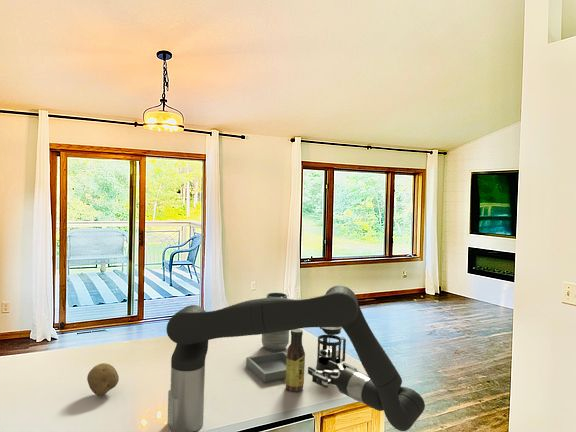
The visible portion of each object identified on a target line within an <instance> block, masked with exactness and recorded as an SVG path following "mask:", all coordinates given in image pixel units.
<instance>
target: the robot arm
mask: <svg viewBox="0 0 576 432" xmlns="http://www.w3.org/2000/svg"><path fill="white" fill-rule="evenodd" d="M361 309H362V308H361V307H360V304H359V302H358V298H357V295H356V294H355V292H354V291H353V290H352V289H350V288H349V287H347V286H345V285H340V284H339V285H334V286H332V287H330V288H329V289H327V291H326V292H325V294H324V295H320V296H314V297H310V298H303V299H293V298H288V299H286V298H266V297H263V298H255V299H248V300H245V301H241V302H238V303H235V304H232V305H228V306H226V307H223V308H221V309H217V310H211V311H206V310H205V309H204V308H203V307H201V306H199V305H196V304H190V305H187V306H185V307H184V308H181V309H180V310H178V312H175V314H173V315H172V316H171V318H170V319H169V320H168V322H167V325H166V334H167V337H168V338H169V339H170V340H171V341H172V343H175V348H174V350H173V353H172V355H171V358H170V389H169V390H167V391H168V392H167V393H168V394H167V395H168V396H167V425H168V427H169V429H170V431H171V432H197V431H199V430H200V429H201V428H202V427H203V425H204V416H205V415H204V409H205V408H204V407H205V406H204V404H205V376H206V375H205V374H206V373H205V371H206V358H207V354H208V349H209V341H210V340H213V339H214V340H215V339H221V338H222V339H223V338H237V337H246V336H258V335H262V334H268V333H274V332H281V331H289V332H290V331H291V330H295V329H300V330H301V329H308V328H320V327H342V329H343V330H344V332H345V334H346V335H347V337H348V338H349V340H350V342H351V344H352V346H353V348H354V350H355V353H356V354H357V357H358V359H359V360H360V361H359V362H361V365H362V367H363V369H364V371H365V373H363V372H361V371H359V370H358V368H357V367H355V366H352V365H350V364H348V363H346V362H343V363H338V364H337V363H335V362H332V361H328V368H330V369H332V371H330V370H324V371H318V370H317V369H316V367H312V366H308V367H307V374H308V376H309V375H310V376H312V379H311V381H312V383H314V384H316V385H319V386H320V387H323V388H325V389H327V388H329V385H333V386H336V387H337V390H338V391H339V392H340V393H341V394H343V395H344V396H345V395H346V396H347V397H349V398H351V399H353V400H354V401H357V402H359V403H362V404H364V405H366V406H368V407H369V408H371V409H374V410H376V411H379V412H382V411H383V413H384V415H385V417H386V419H387V421H388V423H389V424H390V425H391V426H392V427H393V428H394V429H395V430H397V431H399V432H406V431H409V430H410V429H411V428H412V426H413V425H414V424H415V423H416V422H417V420H418V419H419V418H420V417H421V415H422V414H423V413H424V410H425V408H426V404H425V401H424V399H423V397H422V396H421V394H420V393H418V392H417V391H416V390H415V389H412V388H410V387H405V386H402V384H403V378H402V377H401V375H400V373H399V372H398V370H397V369H396V366H395V365H394V363H393V362H392V361H391V359H390V357H389V356H388V354H387V353H386V351H385V350H384V348H383V347H382V345H381V343H380V342H379V341H378V339H377V337H376V335H375V334H374V333H373V331H372V329H371V328H370V326H369V324H368V322H367V320H366V318H365V316H364V313H363V311H362V310H361ZM326 373H328V374H326ZM326 375H327V376H326Z"/></svg>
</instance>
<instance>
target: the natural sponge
mask: <svg viewBox="0 0 576 432" xmlns="http://www.w3.org/2000/svg"><path fill="white" fill-rule="evenodd" d="M86 379H87V380H86V381H87V384H88V386H89V388H90V390H91V392H92V393H93V394H94V395H96V396H97V397H103V396H105V395H106V394H107V393H108V392H110V391H111V390H112V389H114V388H115V387H117V386H118V383H119V380H120V379H119V374H118V372H117V370H116V368H115V367H114V366H113V365H111V364H110V363H99V364H97V365H95V366H93V367H92V369H90V370H89V371H88V374H87V376H86Z"/></svg>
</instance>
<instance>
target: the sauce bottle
mask: <svg viewBox="0 0 576 432" xmlns="http://www.w3.org/2000/svg"><path fill="white" fill-rule="evenodd" d="M290 335H291V336H290V344H289V346H287V347H288V348H287V351H286V353H287V360H286V380H285V389H286V390H287V391H289V392H301V391H302V390H303V389H304V384H305V367H306V365H305V362H306V358H305V357H306V352H305V349H304V346H303V330H302V329H301V328H300V329H295V330H290Z"/></svg>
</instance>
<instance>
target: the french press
mask: <svg viewBox="0 0 576 432" xmlns="http://www.w3.org/2000/svg"><path fill="white" fill-rule="evenodd" d="M319 329H320V330H322V332H323V333H324V334H321V335H319V336H317V353H316V354H317V355H316V357H317V358H316V366H315V369H317V370H318V371H324V370H330V371H332V369H330V368H328V361H332V362H335V363H337V364H338V363H340V364H342V362H343V363H344V362H345V360H346V346H347V345H346V343H347V339H346V338H345V337H343V336H342V337H340V336H338V335H340V334H341V332H342V329H343V328H342V327H319ZM321 339H322V340H321ZM328 339H329V340H328ZM331 339H334V340H338V341H334V342H331ZM321 345H322V349H321ZM337 346H338V350H337ZM330 347H331V348H330ZM341 350H342V352H341ZM341 353H342V358H341ZM326 375H328V373H326Z"/></svg>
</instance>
